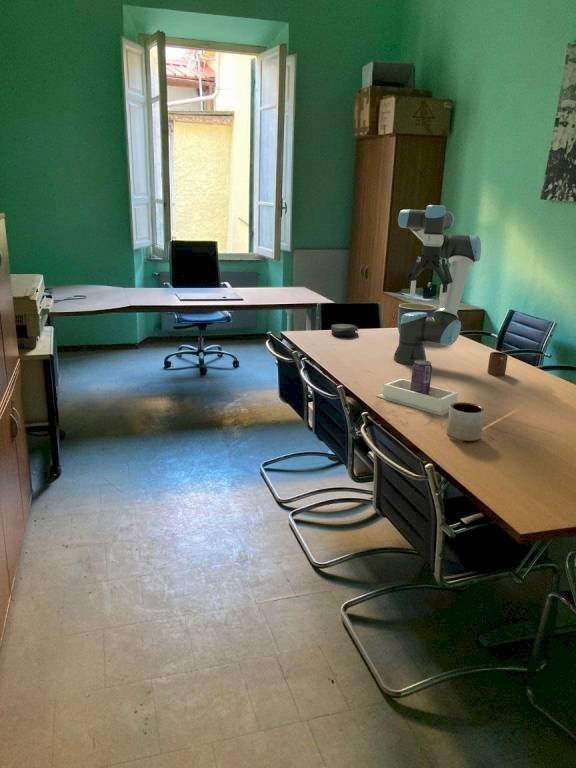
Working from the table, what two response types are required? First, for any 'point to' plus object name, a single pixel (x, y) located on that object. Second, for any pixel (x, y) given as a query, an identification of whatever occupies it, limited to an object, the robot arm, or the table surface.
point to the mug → (497, 363)
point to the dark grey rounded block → (344, 330)
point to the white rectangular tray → (419, 397)
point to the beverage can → (421, 376)
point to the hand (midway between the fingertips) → (426, 298)
